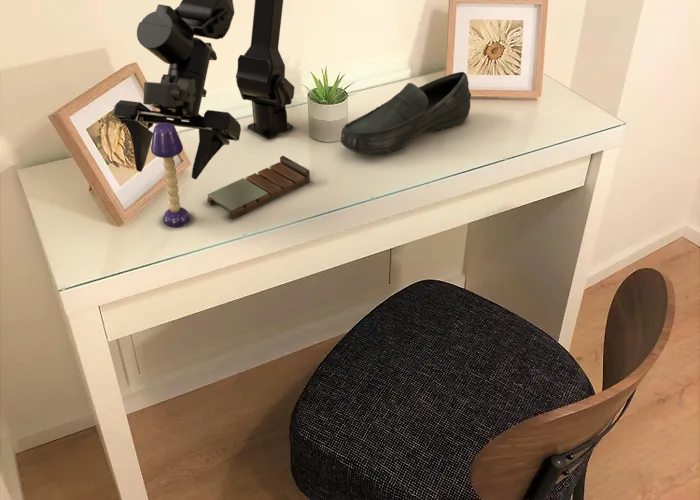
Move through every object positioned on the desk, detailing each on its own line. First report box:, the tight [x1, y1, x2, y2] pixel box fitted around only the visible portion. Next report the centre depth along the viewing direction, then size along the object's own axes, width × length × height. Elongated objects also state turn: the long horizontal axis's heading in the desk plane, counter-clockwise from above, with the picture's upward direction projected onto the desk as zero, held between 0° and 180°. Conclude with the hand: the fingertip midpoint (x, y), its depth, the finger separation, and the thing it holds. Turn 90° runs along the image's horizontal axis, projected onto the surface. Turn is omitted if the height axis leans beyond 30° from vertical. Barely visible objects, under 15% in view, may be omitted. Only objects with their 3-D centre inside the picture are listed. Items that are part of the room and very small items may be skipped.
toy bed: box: [206, 155, 311, 221], centre depth 126 cm, size 16×7×2 cm, turn 134°
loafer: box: [340, 71, 472, 155], centre depth 140 cm, size 10×29×10 cm, turn 132°
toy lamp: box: [150, 123, 191, 228], centre depth 116 cm, size 5×5×17 cm
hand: (166, 174), depth 114 cm, fingers open, 9 cm apart
